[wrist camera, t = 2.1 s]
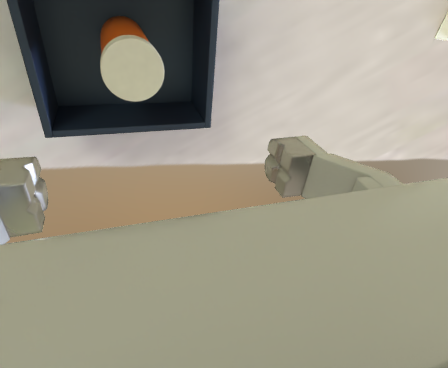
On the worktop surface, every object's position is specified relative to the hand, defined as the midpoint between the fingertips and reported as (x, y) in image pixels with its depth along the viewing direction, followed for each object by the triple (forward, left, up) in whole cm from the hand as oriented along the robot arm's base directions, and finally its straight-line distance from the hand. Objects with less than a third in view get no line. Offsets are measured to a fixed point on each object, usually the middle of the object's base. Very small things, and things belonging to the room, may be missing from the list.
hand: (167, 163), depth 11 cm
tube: (0, 0, -22) cm, 22 cm away
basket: (0, 0, -22) cm, 22 cm away
